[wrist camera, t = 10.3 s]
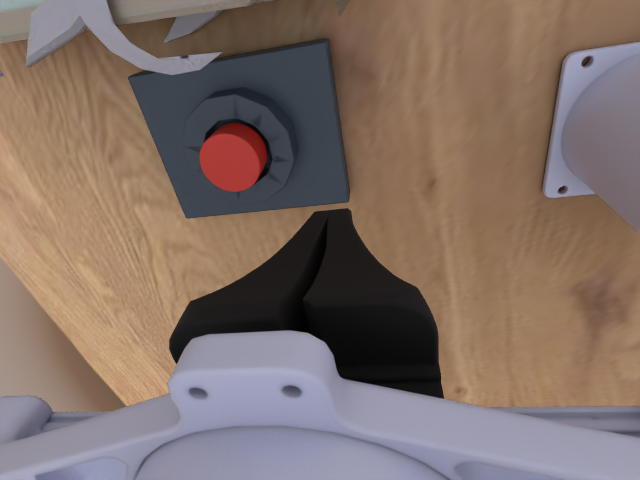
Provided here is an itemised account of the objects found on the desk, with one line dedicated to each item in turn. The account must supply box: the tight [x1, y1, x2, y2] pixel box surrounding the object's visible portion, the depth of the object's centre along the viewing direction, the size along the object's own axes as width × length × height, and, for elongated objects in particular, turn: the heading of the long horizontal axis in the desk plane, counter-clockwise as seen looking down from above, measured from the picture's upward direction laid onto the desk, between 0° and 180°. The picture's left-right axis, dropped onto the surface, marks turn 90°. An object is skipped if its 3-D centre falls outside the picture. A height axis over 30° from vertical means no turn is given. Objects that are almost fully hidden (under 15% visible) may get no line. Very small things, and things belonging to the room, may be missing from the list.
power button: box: [199, 123, 267, 192], centre depth 20 cm, size 3×3×2 cm
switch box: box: [128, 38, 350, 218], centre depth 22 cm, size 11×9×3 cm
